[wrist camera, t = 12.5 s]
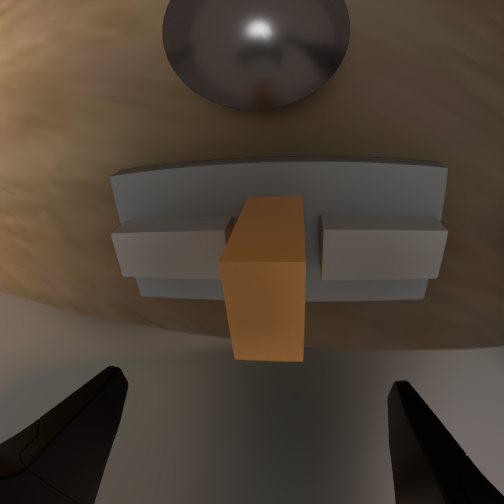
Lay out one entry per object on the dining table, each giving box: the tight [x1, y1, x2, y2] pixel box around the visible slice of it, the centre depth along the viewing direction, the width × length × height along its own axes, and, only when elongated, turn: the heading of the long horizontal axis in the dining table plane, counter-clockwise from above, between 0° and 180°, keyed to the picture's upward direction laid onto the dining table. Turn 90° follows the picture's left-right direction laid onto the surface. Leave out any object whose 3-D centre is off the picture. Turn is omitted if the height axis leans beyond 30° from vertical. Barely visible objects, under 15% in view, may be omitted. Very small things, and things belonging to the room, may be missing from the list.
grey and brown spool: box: [163, 0, 350, 110], centre depth 11 cm, size 7×7×6 cm
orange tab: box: [219, 196, 306, 361], centre depth 15 cm, size 3×5×7 cm, turn 5°
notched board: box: [110, 156, 448, 302], centre depth 18 cm, size 20×9×4 cm, turn 94°
